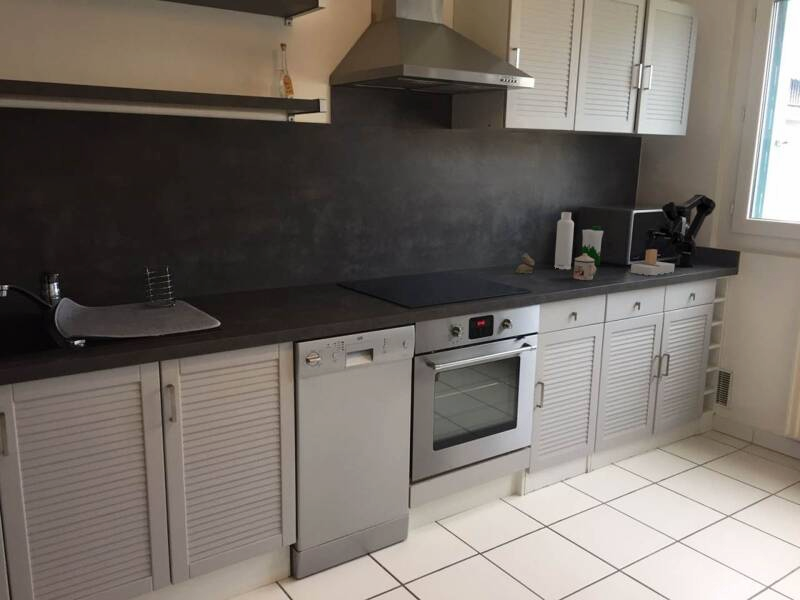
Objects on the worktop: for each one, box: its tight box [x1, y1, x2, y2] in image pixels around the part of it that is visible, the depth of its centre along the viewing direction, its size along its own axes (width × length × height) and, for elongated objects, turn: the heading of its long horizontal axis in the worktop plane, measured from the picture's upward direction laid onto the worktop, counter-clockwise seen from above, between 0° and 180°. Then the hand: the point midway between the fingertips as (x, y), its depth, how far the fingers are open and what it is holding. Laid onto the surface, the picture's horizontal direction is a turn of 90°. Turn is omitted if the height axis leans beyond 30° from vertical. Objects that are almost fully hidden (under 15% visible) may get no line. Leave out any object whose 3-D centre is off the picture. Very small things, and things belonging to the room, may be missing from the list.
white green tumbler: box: [581, 225, 604, 266], centre depth 339 cm, size 9×9×20 cm
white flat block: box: [630, 260, 676, 276], centre depth 320 cm, size 20×11×4 cm, turn 127°
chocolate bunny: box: [515, 252, 535, 274], centre depth 311 cm, size 6×8×10 cm
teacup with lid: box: [573, 253, 597, 281], centre depth 298 cm, size 12×9×12 cm
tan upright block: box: [644, 248, 658, 264], centre depth 320 cm, size 6×2×11 cm, turn 127°
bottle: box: [554, 211, 575, 270], centre depth 325 cm, size 8×8×28 cm
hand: (656, 248), depth 321 cm, fingers open, 9 cm apart
